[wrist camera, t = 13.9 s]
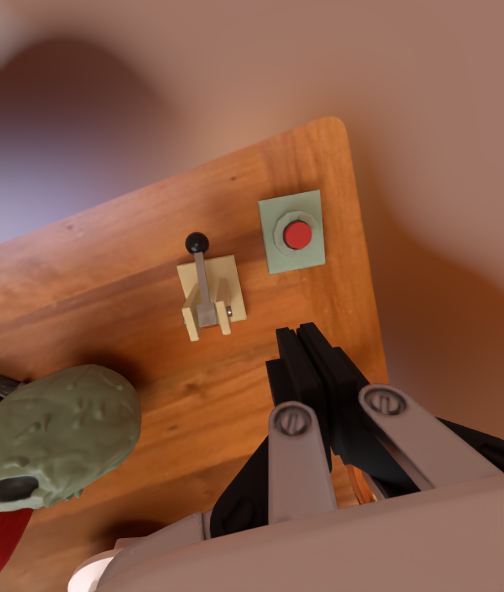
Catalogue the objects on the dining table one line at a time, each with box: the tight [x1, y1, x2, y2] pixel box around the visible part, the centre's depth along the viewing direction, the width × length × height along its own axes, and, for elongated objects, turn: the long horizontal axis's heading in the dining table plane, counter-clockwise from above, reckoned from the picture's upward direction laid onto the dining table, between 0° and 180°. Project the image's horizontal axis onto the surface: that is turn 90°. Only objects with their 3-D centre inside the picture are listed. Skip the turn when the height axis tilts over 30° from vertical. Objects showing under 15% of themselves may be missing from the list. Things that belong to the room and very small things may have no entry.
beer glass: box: [346, 464, 378, 505], centre depth 46 cm, size 7×7×15 cm
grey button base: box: [258, 190, 325, 274], centre depth 36 cm, size 11×9×4 cm
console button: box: [284, 222, 312, 249], centre depth 34 cm, size 4×4×2 cm
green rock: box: [0, 364, 141, 512], centre depth 34 cm, size 16×19×20 cm
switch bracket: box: [177, 254, 247, 341], centre depth 34 cm, size 11×9×12 cm
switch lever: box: [185, 232, 220, 329], centre depth 31 cm, size 13×3×3 cm
